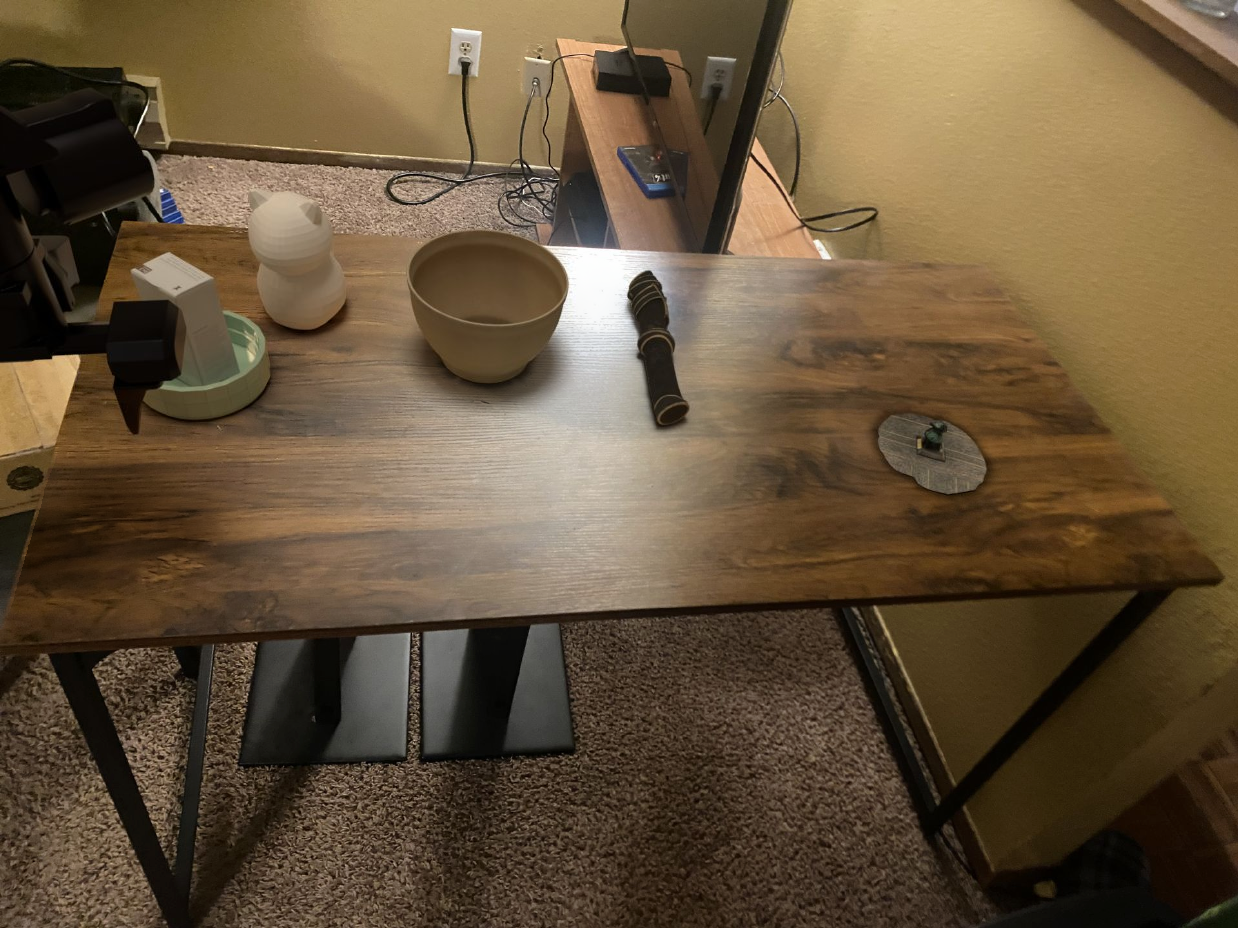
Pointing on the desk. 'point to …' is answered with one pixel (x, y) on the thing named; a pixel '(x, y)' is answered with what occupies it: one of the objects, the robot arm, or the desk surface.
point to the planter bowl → (486, 300)
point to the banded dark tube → (657, 347)
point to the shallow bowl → (222, 395)
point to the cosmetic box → (192, 316)
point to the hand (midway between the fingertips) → (66, 435)
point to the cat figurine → (295, 259)
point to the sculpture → (932, 453)
